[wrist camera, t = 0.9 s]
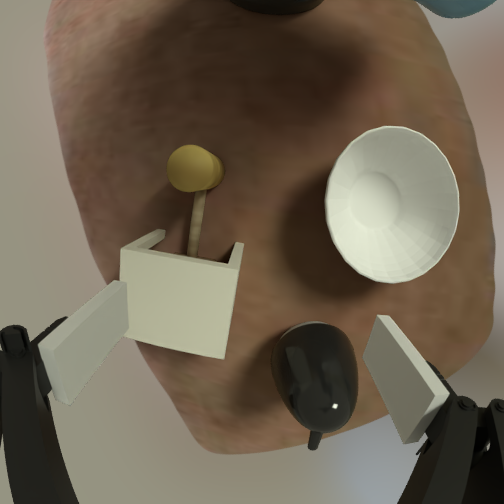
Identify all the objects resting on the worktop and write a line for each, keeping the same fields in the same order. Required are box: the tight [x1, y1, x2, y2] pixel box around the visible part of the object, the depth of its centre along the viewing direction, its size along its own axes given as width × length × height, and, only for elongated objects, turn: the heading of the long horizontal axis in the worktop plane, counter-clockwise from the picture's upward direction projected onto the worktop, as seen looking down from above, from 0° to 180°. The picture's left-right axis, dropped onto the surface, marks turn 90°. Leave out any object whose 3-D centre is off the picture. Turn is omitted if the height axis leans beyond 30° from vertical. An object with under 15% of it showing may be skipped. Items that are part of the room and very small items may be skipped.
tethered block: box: [166, 145, 225, 262], centre depth 29 cm, size 17×5×9 cm, turn 170°
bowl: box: [324, 126, 459, 284], centre depth 29 cm, size 16×16×7 cm
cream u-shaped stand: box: [120, 229, 244, 359], centre depth 30 cm, size 9×10×10 cm
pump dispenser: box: [271, 321, 358, 450], centre depth 29 cm, size 10×10×15 cm
